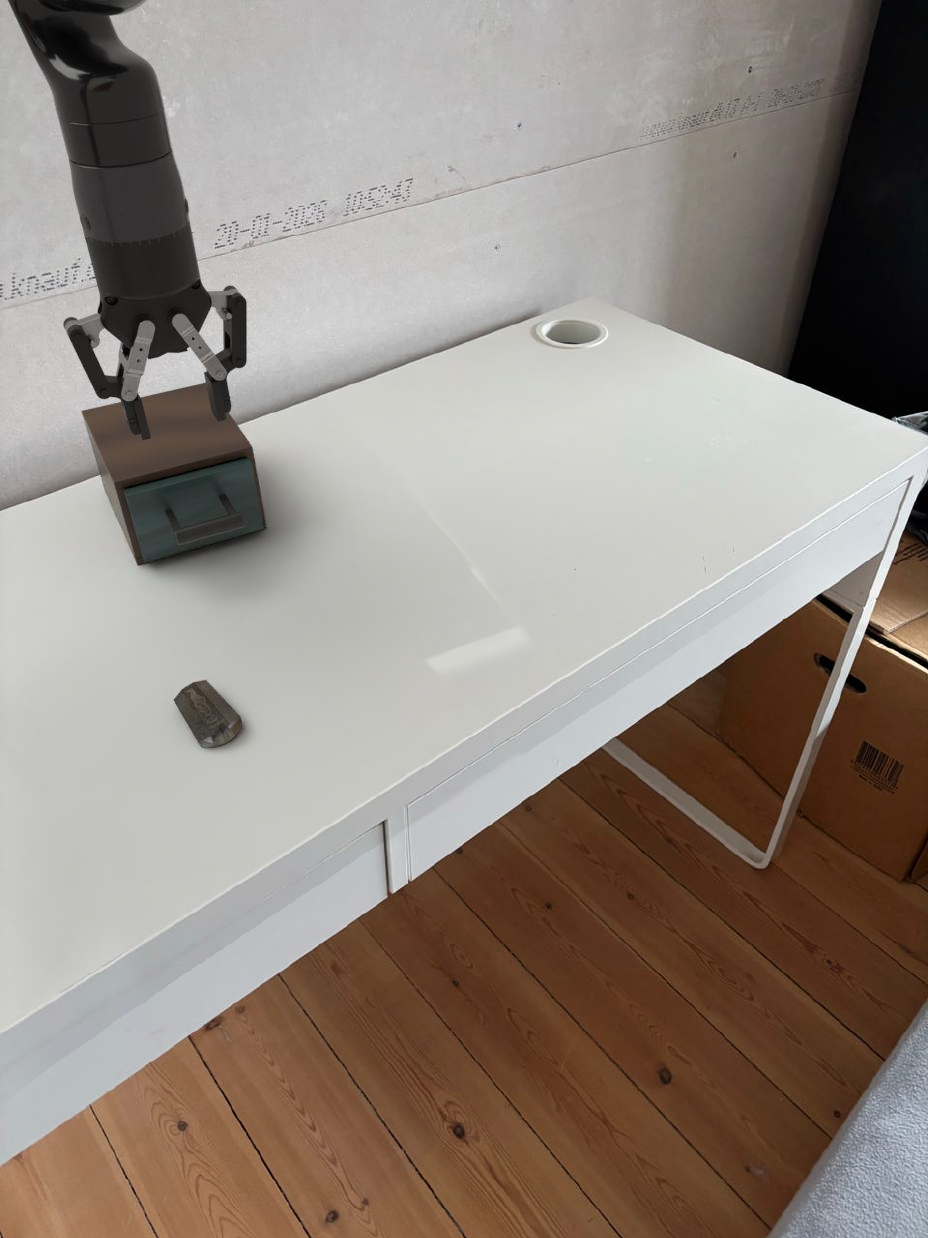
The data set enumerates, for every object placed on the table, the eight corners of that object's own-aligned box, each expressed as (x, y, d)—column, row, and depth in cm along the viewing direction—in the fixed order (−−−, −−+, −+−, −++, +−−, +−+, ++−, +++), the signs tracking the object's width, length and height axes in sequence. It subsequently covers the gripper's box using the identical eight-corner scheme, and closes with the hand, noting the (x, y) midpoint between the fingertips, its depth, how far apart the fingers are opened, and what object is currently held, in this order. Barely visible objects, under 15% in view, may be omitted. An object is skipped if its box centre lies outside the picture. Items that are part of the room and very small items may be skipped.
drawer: (280, 555, 90) (269, 489, 86) (157, 592, 87) (139, 524, 82) (222, 463, 103) (210, 400, 98) (113, 491, 99) (94, 427, 94)
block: (210, 690, 78) (206, 673, 77) (249, 732, 75) (245, 715, 74) (169, 711, 77) (164, 694, 75) (207, 755, 73) (202, 738, 72)
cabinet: (267, 528, 95) (252, 446, 89) (137, 565, 91) (113, 482, 85) (223, 459, 105) (207, 381, 99) (104, 489, 101) (81, 410, 95)
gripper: (217, 189, 76) (250, 388, 87) (24, 220, 71) (85, 427, 82) (247, 218, 71) (278, 425, 82) (41, 253, 66) (104, 469, 77)
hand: (181, 425), depth 82 cm, fingers open, 5 cm apart
